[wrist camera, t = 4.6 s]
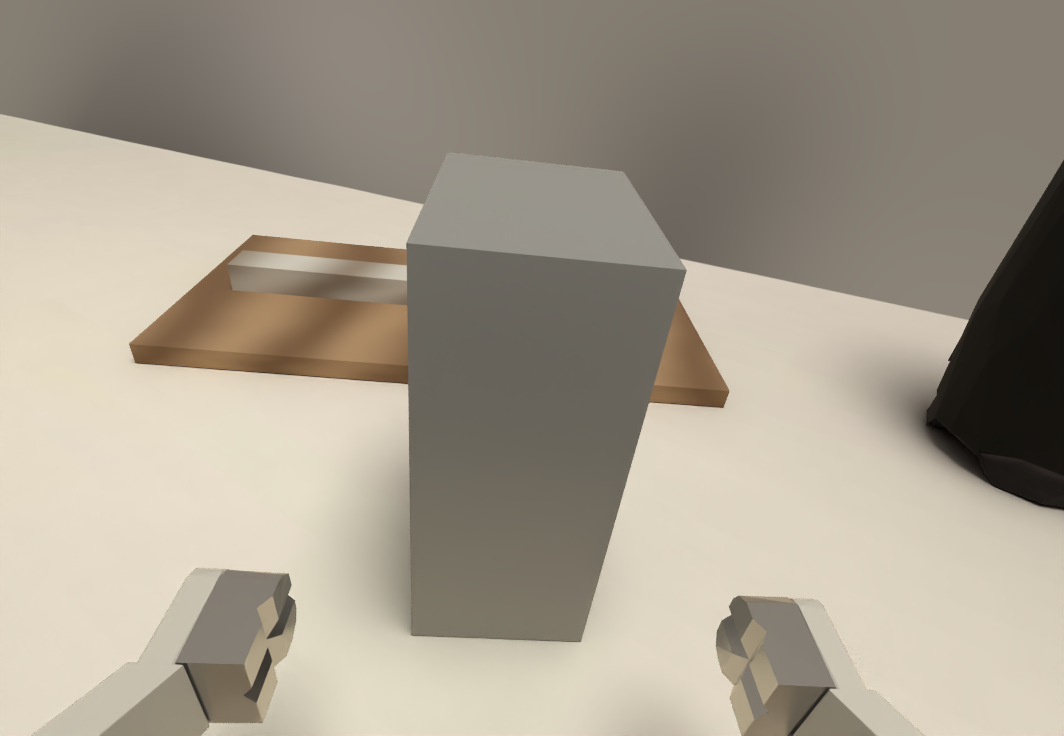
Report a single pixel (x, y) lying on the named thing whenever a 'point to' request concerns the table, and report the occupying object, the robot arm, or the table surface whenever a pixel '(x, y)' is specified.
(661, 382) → the rail
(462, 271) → the block
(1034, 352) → the portable speaker
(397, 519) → the table surface
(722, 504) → the table surface
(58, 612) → the table surface
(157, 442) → the table surface
